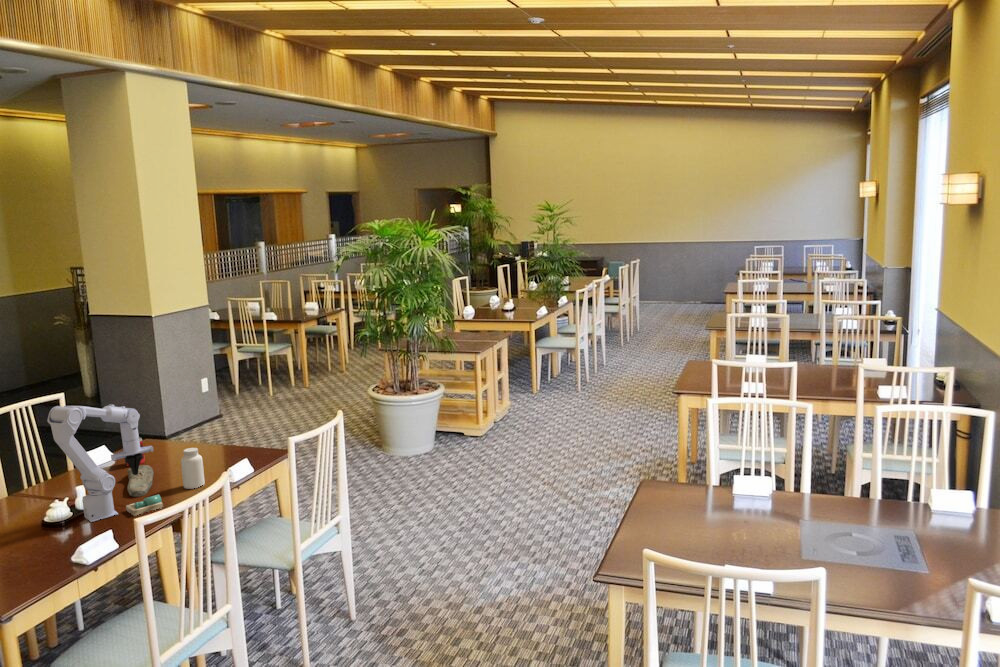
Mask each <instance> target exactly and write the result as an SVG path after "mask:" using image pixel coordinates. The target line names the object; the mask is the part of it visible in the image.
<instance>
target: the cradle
mask: <svg viewBox="0 0 1000 667" xmlns="http://www.w3.org/2000/svg"><path fill="white" fill-rule="evenodd" d="M142 501H143V500H142ZM142 501H140V502H142ZM138 502H139V501H137V503H138ZM135 503H136V502H134V503H130V504H127V505H125V511H126V512H127V513H129V514H130V513H131V514H130V515H132V516H133V517H137V515H138V516H140V515H139V514H141V515H144V514H143V513H144V512H148V513H150V512H149V511H150V510H155V511H157V510H156V509H159V508H160V509H159V510H161V509H163V508H164V503H163V502H160V503H157V504H153V505H150V506H146V507H143V508H139V509H135V505H134V504H135ZM162 507H163V508H162Z"/></svg>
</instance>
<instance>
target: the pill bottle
mask: <svg viewBox="0 0 1000 667" xmlns="http://www.w3.org/2000/svg"><path fill="white" fill-rule="evenodd" d="M182 452H183V456H182V457H181V460H180V466H181V474H182V476H181V477H182V483H183V484H182V485H183V488H184V489H186V490H192V489H193V490H194V488H195V489H198V487H199V488H201V487H200V486H202V485H203V486H205V484H206V483H205V472H204V463H203V462H204V461H203V457H202V455H200V454H199V448H197V447H190V448H189V447H188V448H185V449H184V450H182ZM203 486H202V487H203Z"/></svg>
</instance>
